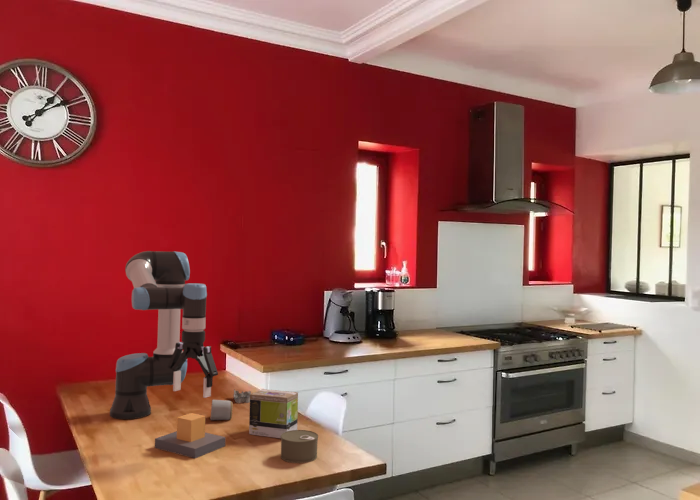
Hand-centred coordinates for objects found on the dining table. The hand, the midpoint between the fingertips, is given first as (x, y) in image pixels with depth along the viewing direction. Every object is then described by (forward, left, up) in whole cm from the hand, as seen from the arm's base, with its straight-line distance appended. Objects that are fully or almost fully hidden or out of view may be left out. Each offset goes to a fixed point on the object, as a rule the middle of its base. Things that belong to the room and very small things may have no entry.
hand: (191, 393), depth 191 cm
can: (+35, +12, -18) cm, 42 cm away
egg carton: (-25, +57, -18) cm, 65 cm away
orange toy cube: (0, 0, -15) cm, 15 cm away
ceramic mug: (-14, +30, -18) cm, 38 cm away
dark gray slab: (0, 0, -18) cm, 18 cm away
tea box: (+14, +27, -18) cm, 35 cm away
